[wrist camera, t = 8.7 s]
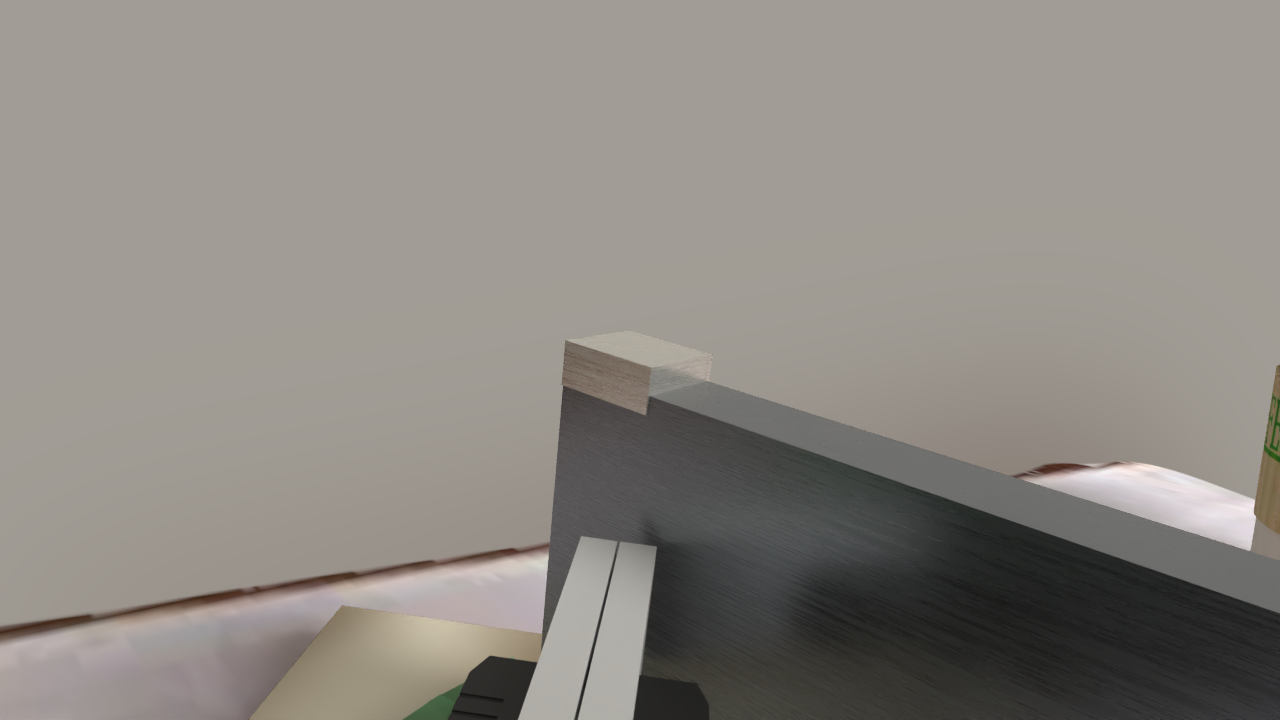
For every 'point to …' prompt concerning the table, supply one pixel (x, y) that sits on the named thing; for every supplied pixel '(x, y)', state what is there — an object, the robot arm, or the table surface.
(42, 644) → the table surface
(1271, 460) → the coffee cup
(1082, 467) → the table surface
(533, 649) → the board
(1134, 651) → the grey flat rounded-edge slab
